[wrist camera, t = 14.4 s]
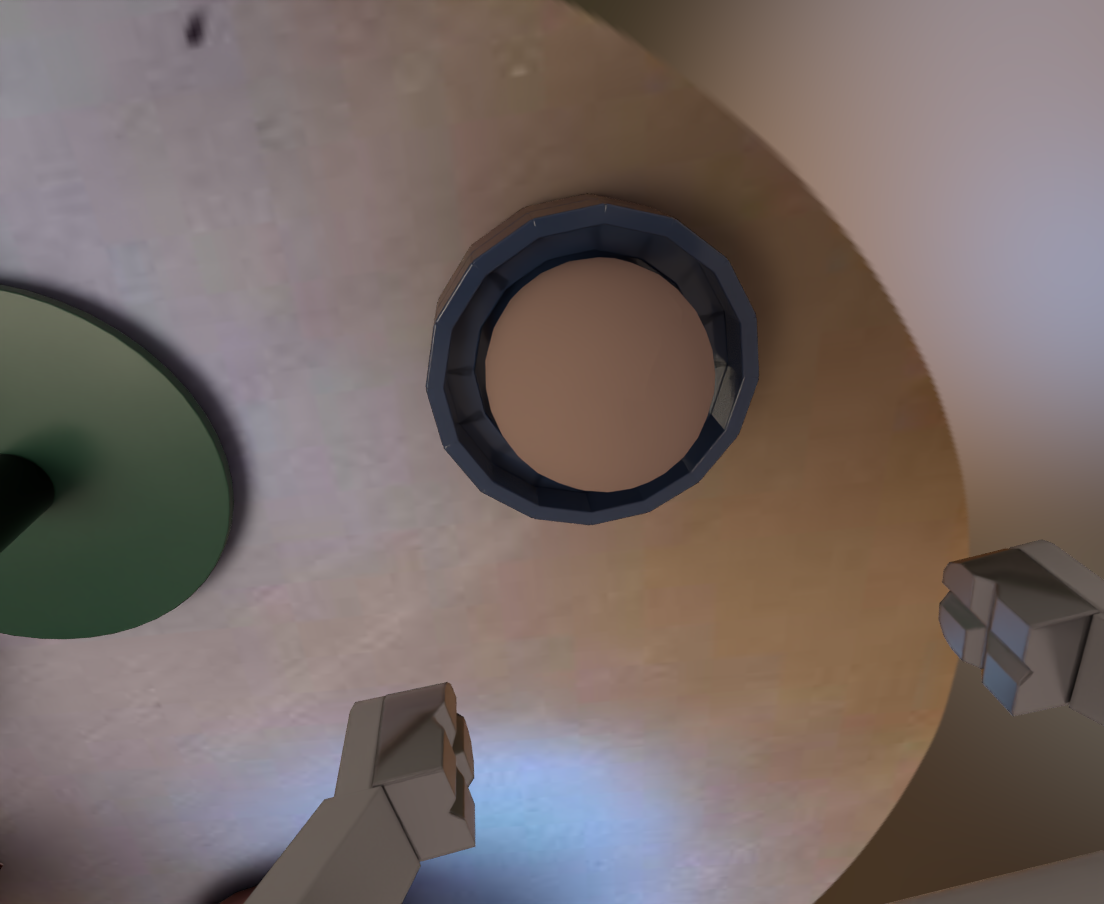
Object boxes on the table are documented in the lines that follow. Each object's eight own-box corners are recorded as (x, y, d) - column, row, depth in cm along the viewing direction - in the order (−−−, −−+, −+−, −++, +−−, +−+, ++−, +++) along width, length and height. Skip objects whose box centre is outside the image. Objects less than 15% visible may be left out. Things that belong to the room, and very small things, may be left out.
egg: (441, 350, 24) (431, 452, 17) (575, 193, 22) (630, 230, 15) (582, 459, 27) (626, 589, 19) (711, 328, 25) (815, 417, 18)
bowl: (541, 124, 22) (554, 125, 19) (781, 306, 25) (825, 333, 22) (378, 395, 25) (366, 434, 22) (610, 520, 29) (627, 568, 26)
